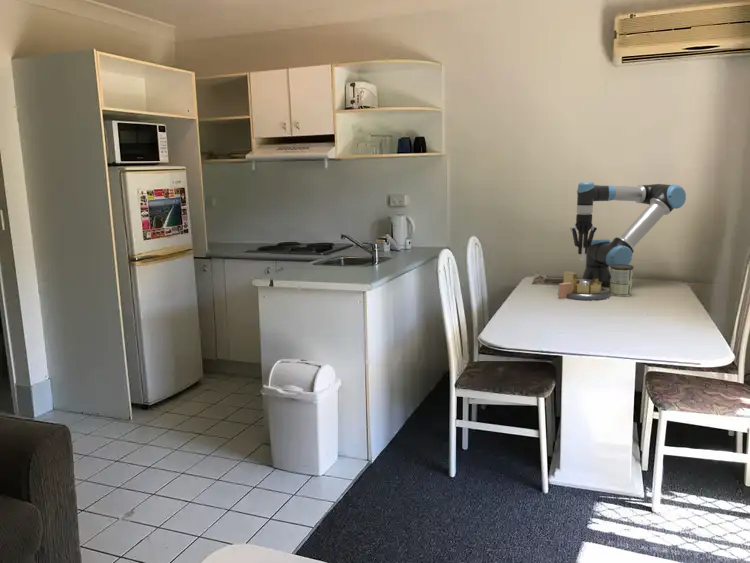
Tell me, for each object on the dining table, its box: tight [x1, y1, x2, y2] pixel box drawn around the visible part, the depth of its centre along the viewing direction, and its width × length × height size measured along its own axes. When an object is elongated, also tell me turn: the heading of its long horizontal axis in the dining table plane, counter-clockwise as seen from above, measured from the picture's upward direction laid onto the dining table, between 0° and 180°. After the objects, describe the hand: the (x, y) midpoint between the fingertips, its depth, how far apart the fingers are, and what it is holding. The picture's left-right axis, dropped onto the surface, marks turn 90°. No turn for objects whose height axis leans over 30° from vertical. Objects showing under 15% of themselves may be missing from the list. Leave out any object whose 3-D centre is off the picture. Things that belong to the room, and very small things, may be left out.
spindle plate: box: [566, 280, 611, 302], centre depth 304 cm, size 24×24×7 cm
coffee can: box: [609, 264, 634, 297], centre depth 304 cm, size 10×10×14 cm
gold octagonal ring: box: [562, 270, 602, 294], centre depth 307 cm, size 22×15×7 cm
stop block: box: [557, 282, 572, 300], centre depth 299 cm, size 6×2×7 cm, turn 114°
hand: (581, 260), depth 313 cm, fingers closed
